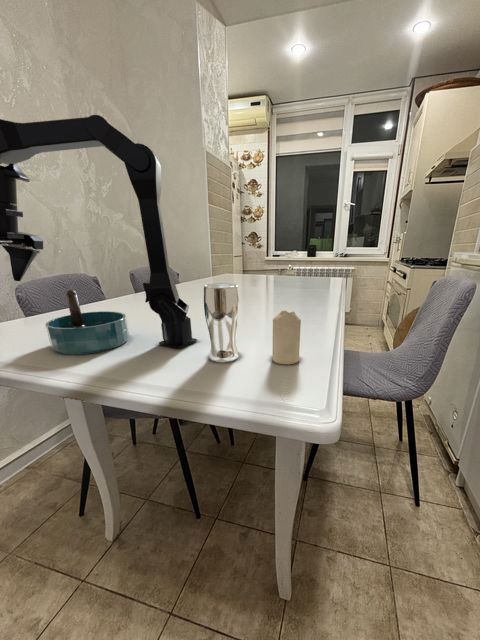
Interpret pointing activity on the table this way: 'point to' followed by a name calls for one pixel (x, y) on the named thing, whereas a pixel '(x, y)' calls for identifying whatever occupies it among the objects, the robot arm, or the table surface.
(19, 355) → the table surface
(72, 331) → the bowl
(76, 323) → the brown rod
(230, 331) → the beer glass
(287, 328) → the candle
